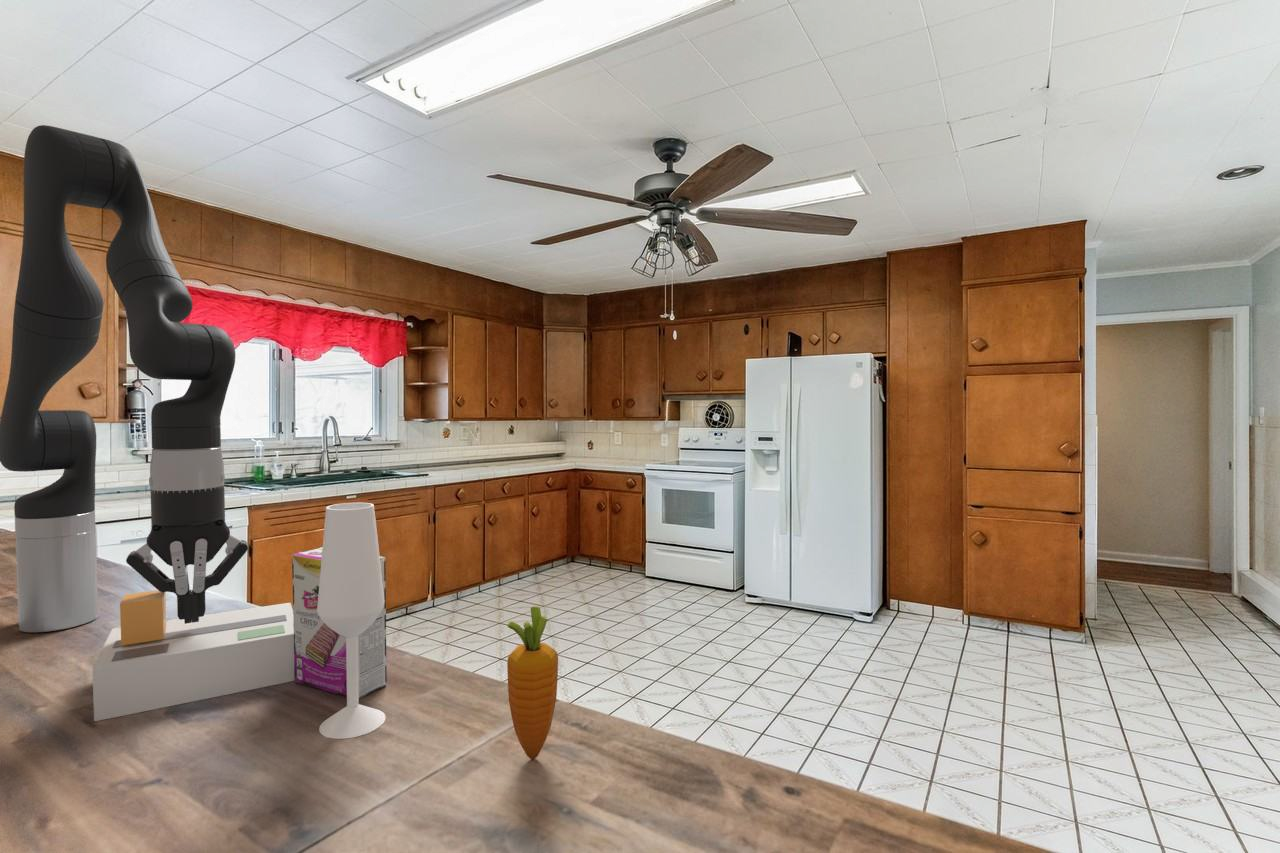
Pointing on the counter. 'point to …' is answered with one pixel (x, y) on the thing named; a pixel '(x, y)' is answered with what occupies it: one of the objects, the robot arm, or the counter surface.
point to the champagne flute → (350, 602)
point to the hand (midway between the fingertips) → (191, 620)
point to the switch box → (195, 661)
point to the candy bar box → (332, 636)
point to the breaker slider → (143, 617)
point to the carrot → (532, 684)
